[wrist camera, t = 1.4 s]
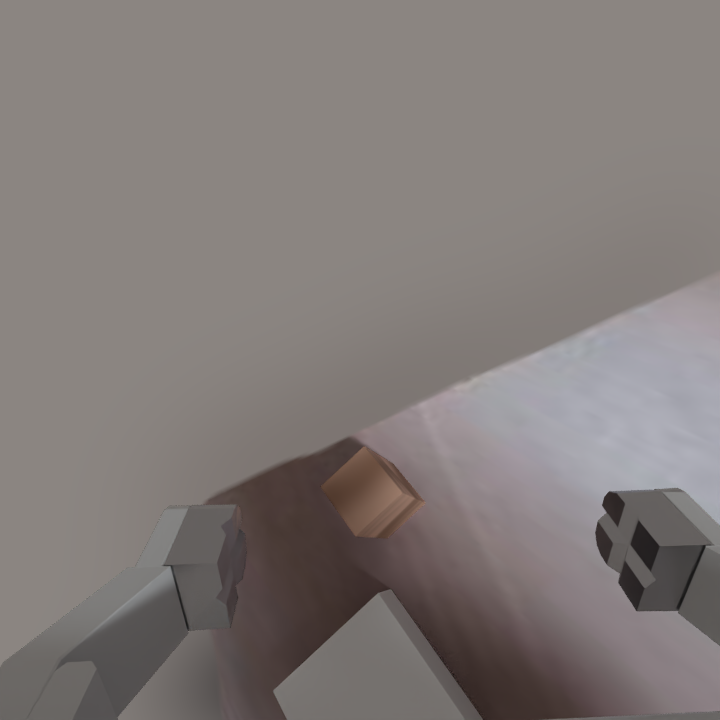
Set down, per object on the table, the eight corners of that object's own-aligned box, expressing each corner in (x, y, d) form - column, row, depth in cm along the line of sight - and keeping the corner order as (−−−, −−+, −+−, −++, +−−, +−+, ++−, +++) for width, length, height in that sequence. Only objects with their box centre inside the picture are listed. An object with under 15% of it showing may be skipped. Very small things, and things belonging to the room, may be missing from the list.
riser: (487, 725, 35) (482, 744, 32) (374, 830, 35) (357, 861, 31) (391, 589, 41) (378, 592, 37) (294, 678, 41) (272, 690, 37)
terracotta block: (425, 502, 43) (402, 492, 35) (387, 538, 43) (355, 536, 35) (392, 463, 45) (364, 445, 37) (356, 497, 45) (320, 486, 37)
